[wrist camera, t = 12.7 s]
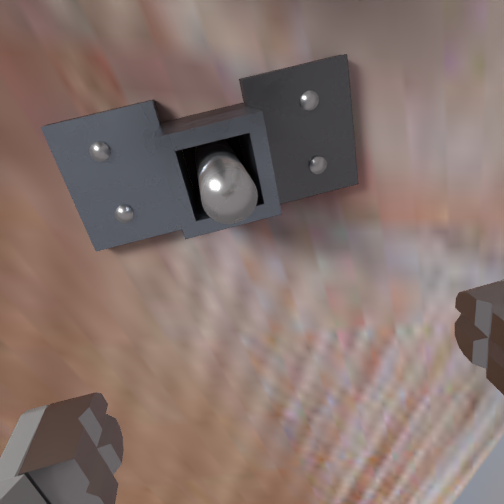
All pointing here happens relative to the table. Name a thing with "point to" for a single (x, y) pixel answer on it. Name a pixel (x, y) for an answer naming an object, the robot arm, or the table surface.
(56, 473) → the robot arm
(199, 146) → the pin
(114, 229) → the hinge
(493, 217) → the table surface
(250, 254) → the table surface
